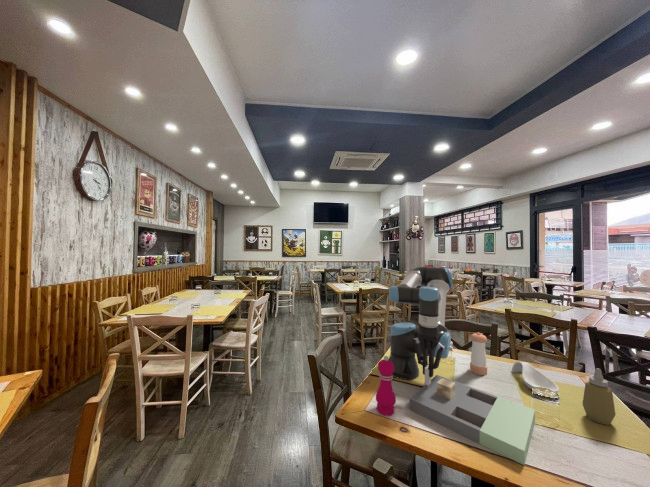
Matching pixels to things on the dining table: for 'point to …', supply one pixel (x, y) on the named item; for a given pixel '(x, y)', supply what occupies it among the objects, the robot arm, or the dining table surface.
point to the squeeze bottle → (598, 399)
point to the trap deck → (479, 417)
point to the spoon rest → (534, 376)
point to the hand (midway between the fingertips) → (427, 383)
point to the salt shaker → (478, 354)
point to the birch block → (446, 388)
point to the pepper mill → (385, 388)
